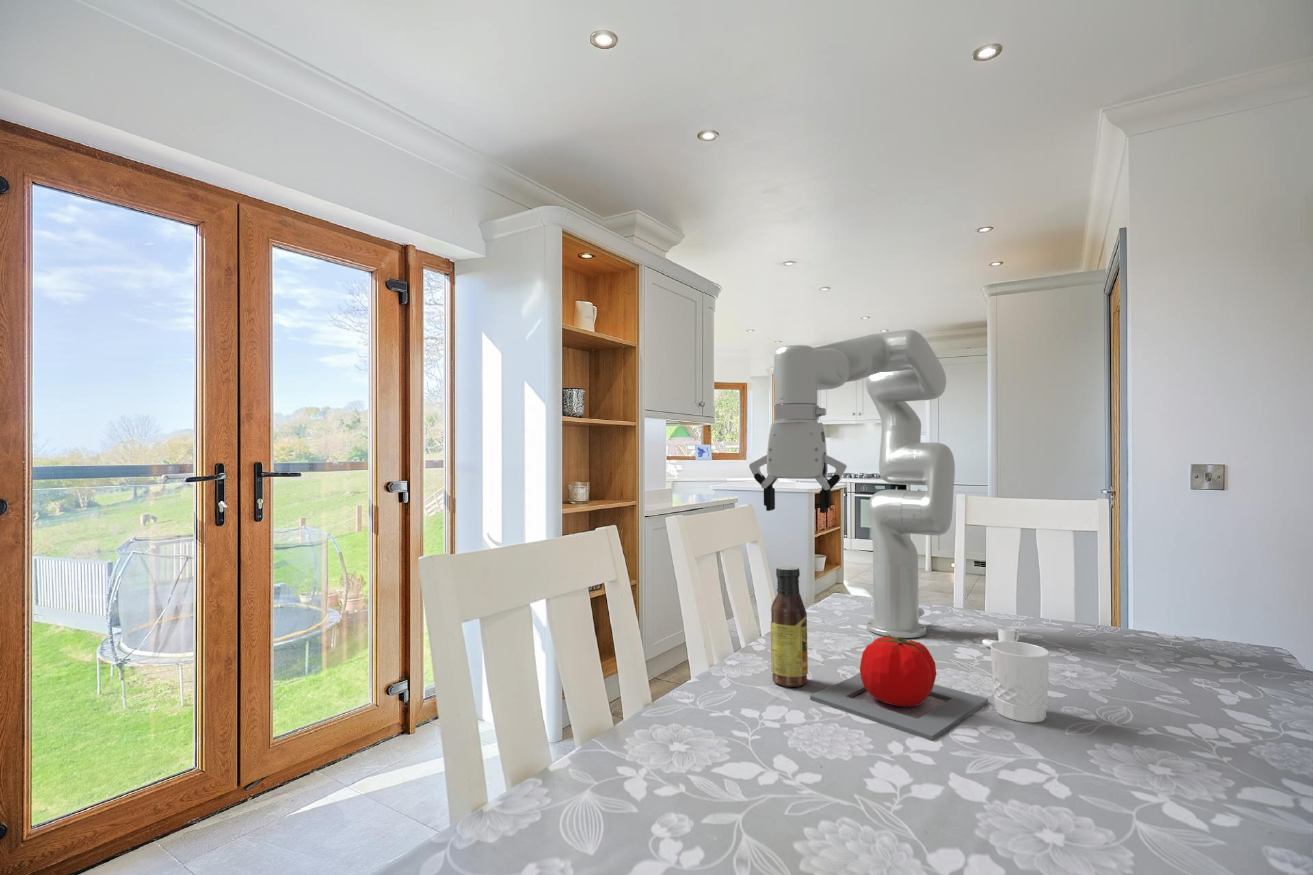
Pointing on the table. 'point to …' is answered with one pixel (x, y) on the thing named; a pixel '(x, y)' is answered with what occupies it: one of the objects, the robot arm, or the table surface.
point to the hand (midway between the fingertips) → (796, 511)
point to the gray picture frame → (925, 726)
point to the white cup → (1020, 680)
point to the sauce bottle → (789, 631)
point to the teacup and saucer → (1003, 636)
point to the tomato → (897, 671)
